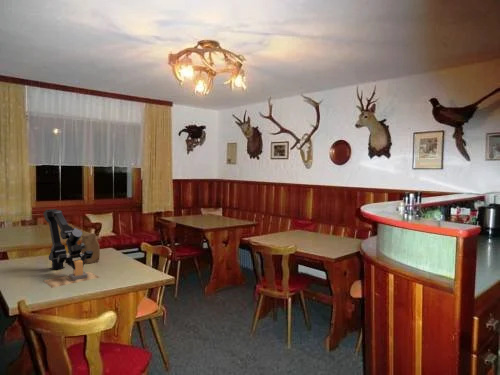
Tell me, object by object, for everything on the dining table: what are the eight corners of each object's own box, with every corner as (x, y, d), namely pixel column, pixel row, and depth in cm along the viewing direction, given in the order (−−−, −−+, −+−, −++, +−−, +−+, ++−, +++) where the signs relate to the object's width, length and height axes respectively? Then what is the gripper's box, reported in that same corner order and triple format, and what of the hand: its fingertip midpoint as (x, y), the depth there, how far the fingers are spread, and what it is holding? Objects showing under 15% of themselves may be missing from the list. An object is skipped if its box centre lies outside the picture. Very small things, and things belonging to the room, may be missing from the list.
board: (51, 289, 193) (51, 287, 193) (43, 282, 204) (43, 280, 204) (99, 279, 211) (99, 277, 211) (89, 273, 222) (89, 271, 222)
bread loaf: (84, 264, 240) (83, 235, 239) (81, 262, 246) (80, 233, 245) (100, 262, 247) (100, 233, 246) (97, 259, 253) (96, 232, 252)
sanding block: (72, 280, 205) (72, 263, 204) (69, 277, 210) (68, 260, 209) (87, 277, 210) (86, 261, 209) (83, 274, 215) (83, 258, 215)
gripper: (58, 241, 205) (63, 264, 198) (91, 237, 218) (98, 258, 210) (55, 251, 212) (60, 274, 204) (87, 247, 224) (94, 268, 217)
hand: (78, 268), depth 209 cm, fingers closed on sanding block, 4 cm apart
